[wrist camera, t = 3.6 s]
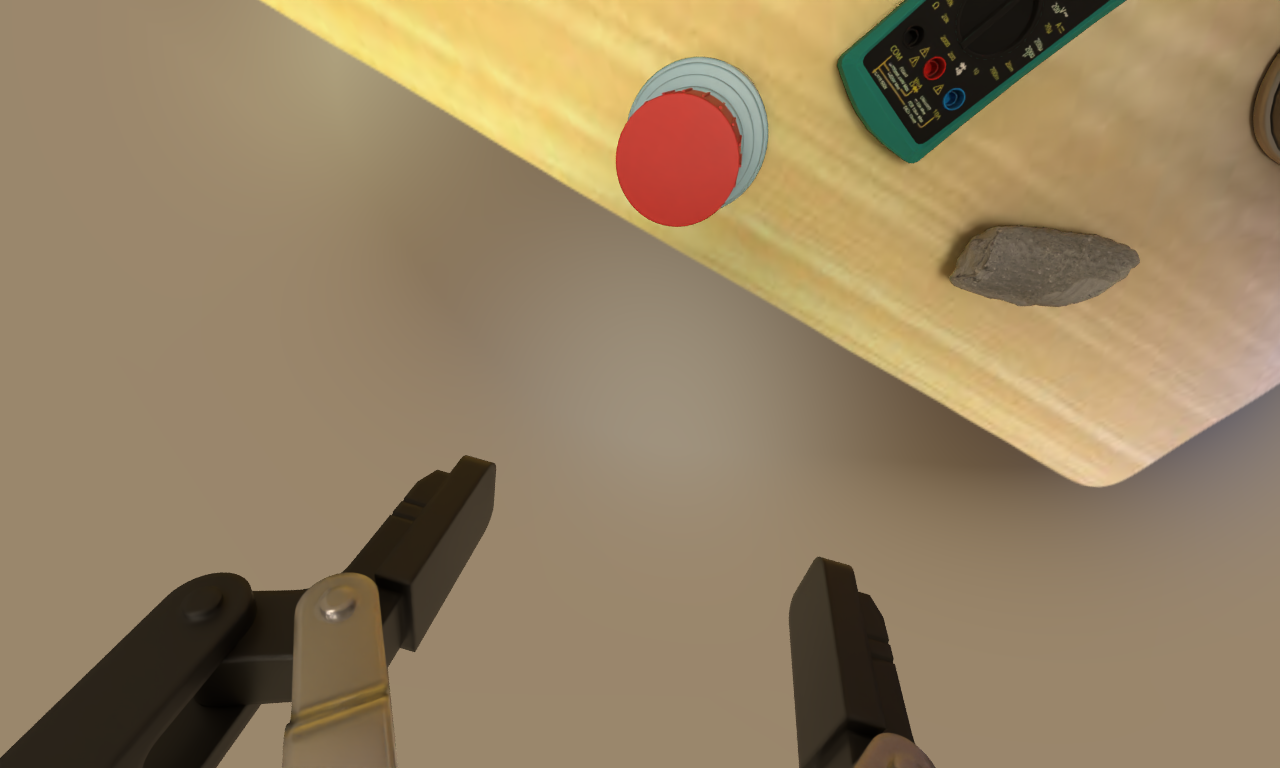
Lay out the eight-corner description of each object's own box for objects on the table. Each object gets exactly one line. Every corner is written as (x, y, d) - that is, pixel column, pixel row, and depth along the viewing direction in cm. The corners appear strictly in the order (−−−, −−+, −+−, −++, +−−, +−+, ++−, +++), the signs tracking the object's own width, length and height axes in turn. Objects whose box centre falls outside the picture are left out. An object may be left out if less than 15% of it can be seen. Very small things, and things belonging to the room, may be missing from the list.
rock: (1138, 235, 31) (1069, 290, 36) (983, 198, 31) (931, 258, 35) (1163, 283, 29) (1086, 336, 33) (996, 244, 29) (940, 302, 33)
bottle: (775, 75, 31) (803, 77, 15) (745, 178, 34) (741, 273, 18) (678, 52, 31) (602, 29, 15) (657, 157, 34) (575, 231, 18)
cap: (756, 103, 18) (758, 108, 15) (724, 217, 20) (720, 241, 17) (646, 76, 18) (626, 77, 15) (625, 192, 20) (605, 211, 17)
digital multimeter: (824, 69, 30) (830, 69, 28) (1111, -198, 23) (1154, -229, 21) (893, 167, 32) (905, 175, 30) (1176, -51, 25) (1223, -64, 23)
